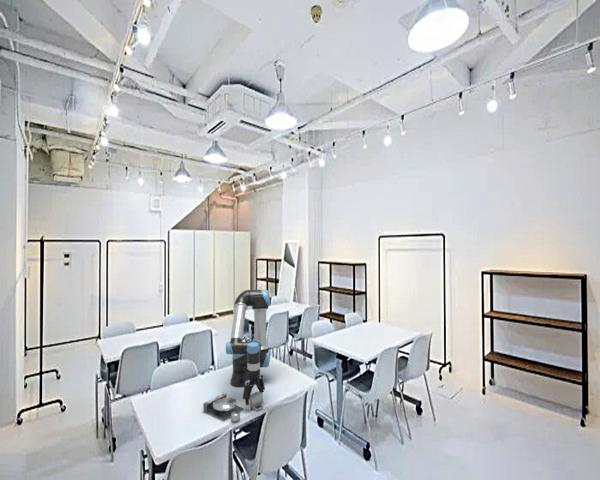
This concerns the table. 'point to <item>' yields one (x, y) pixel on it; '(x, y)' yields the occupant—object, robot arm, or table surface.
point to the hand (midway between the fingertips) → (254, 406)
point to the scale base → (219, 414)
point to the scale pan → (224, 404)
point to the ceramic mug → (256, 401)
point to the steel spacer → (235, 416)
